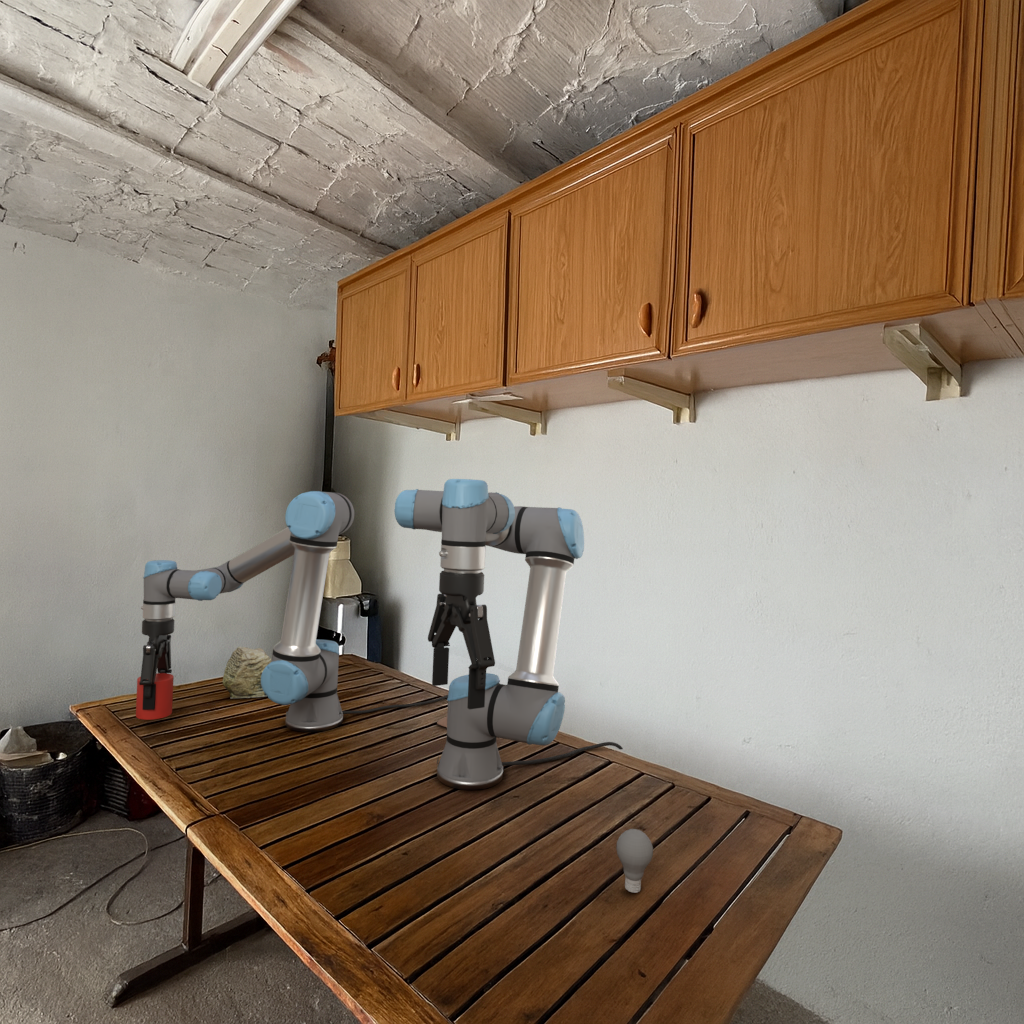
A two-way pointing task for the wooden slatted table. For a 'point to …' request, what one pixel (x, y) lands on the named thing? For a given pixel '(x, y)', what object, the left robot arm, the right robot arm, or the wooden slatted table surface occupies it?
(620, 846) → the light bulb
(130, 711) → the wooden slatted table surface
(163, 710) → the can
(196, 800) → the wooden slatted table surface
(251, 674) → the fossil
